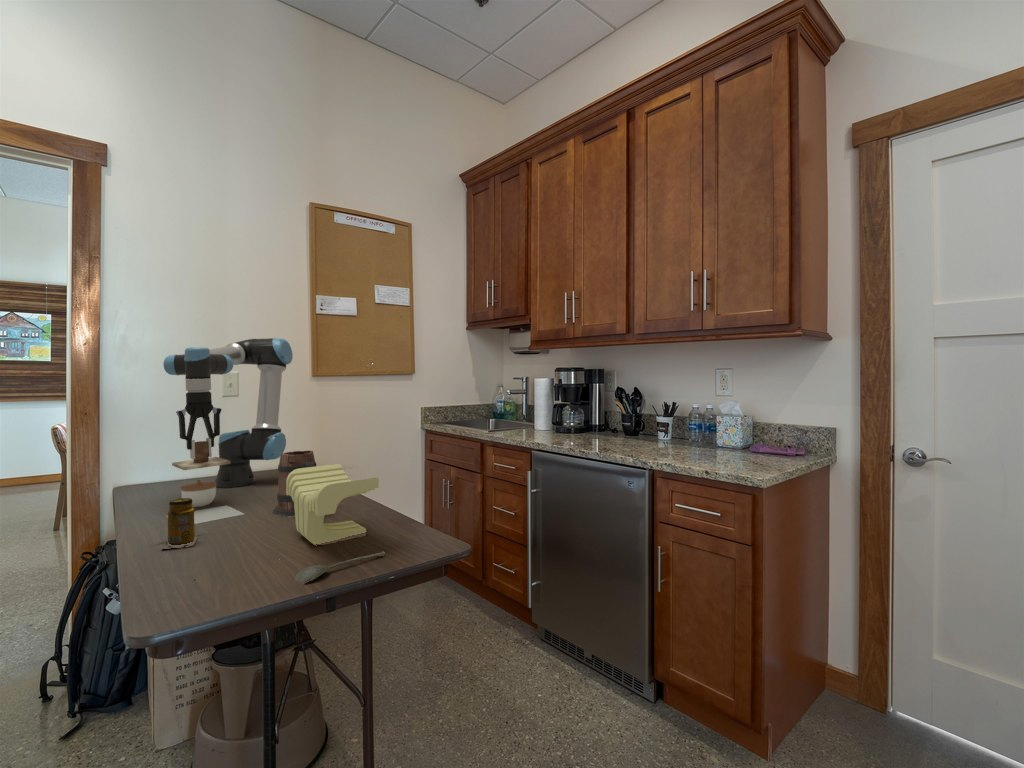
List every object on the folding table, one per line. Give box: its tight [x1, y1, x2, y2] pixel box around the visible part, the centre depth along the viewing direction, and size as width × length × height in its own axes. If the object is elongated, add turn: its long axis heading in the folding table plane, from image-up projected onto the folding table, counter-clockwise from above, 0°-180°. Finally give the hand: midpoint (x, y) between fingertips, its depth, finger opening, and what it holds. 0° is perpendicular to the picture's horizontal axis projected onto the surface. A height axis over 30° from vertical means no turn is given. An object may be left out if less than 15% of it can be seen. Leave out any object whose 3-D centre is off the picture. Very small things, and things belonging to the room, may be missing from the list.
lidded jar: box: [180, 479, 217, 508], centre depth 174 cm, size 11×11×9 cm
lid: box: [171, 440, 230, 471], centre depth 171 cm, size 14×14×8 cm
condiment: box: [167, 497, 196, 545], centre depth 132 cm, size 7×8×12 cm
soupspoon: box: [294, 550, 386, 583], centre depth 113 cm, size 22×3×7 cm
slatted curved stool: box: [286, 463, 380, 546], centre depth 137 cm, size 30×16×18 cm, turn 38°
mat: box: [165, 505, 245, 525], centre depth 160 cm, size 18×18×1 cm
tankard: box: [272, 450, 317, 516], centre depth 163 cm, size 24×17×20 cm
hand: (201, 457), depth 171 cm, fingers closed on lid, 4 cm apart
